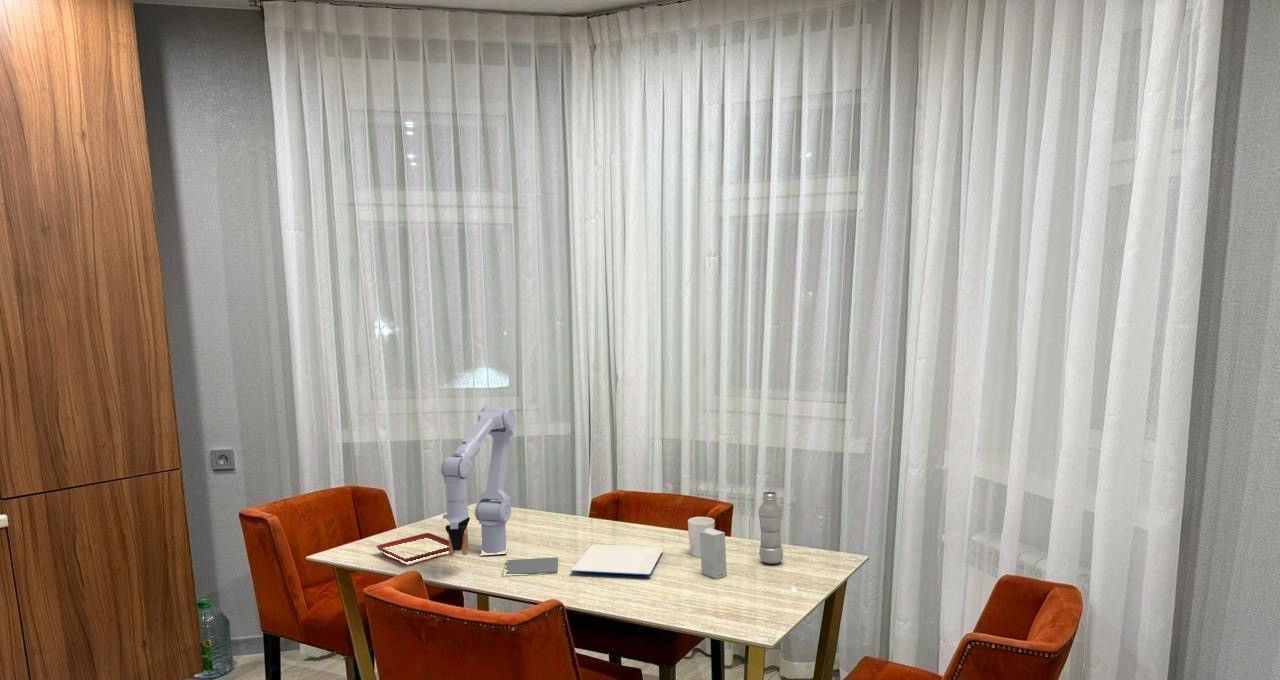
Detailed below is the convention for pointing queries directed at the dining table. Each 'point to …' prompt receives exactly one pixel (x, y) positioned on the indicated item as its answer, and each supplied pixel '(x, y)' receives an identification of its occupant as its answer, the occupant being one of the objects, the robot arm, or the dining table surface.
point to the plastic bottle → (770, 529)
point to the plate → (618, 559)
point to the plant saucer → (414, 538)
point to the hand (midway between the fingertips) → (458, 547)
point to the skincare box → (713, 553)
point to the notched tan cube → (464, 544)
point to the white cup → (698, 532)
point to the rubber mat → (532, 566)
